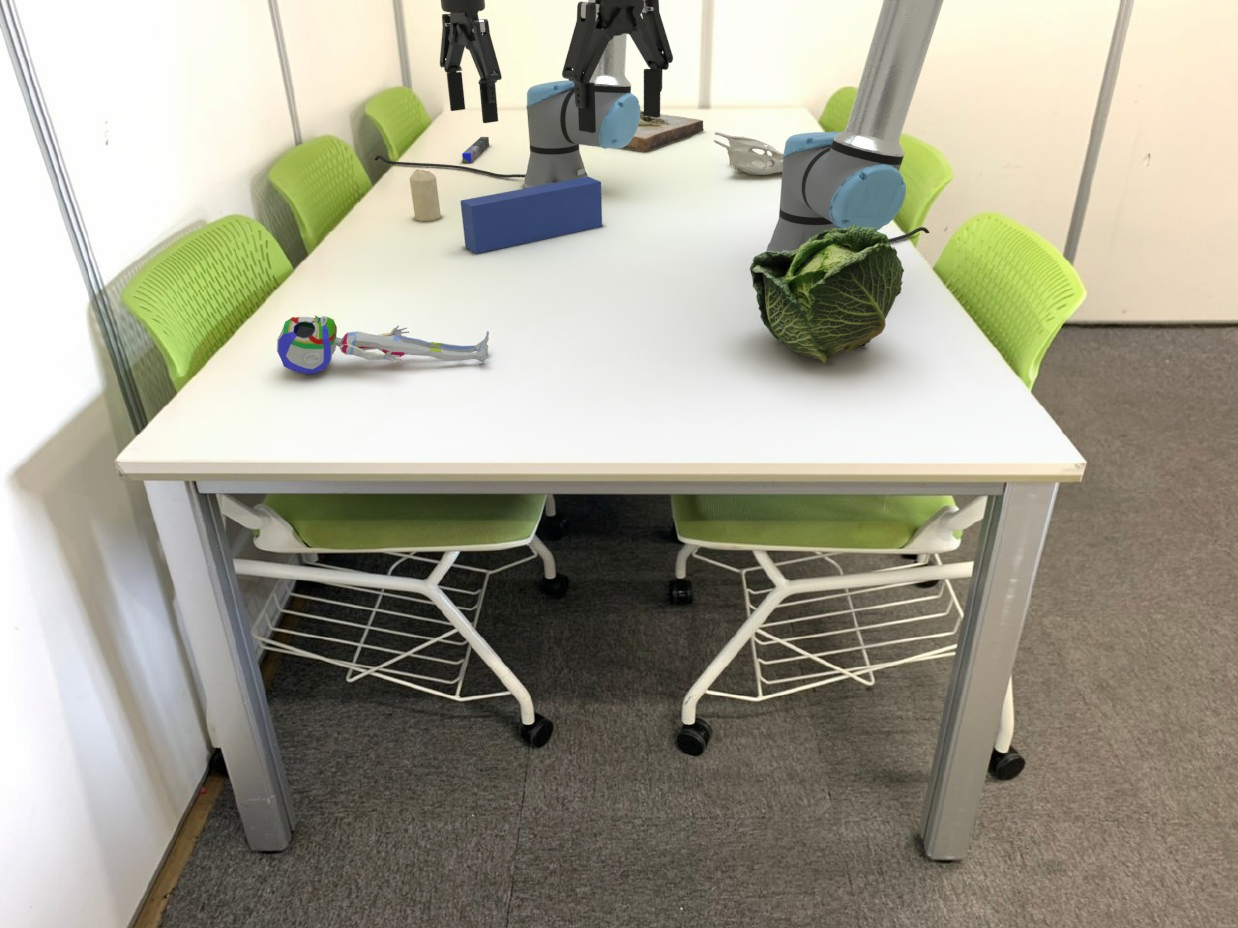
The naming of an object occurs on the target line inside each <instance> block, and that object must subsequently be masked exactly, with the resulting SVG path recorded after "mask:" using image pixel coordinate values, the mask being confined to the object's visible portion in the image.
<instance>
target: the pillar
mask: <svg viewBox="0 0 1238 928" xmlns="http://www.w3.org/2000/svg"><path fill="white" fill-rule="evenodd" d="M489 138H490V137H489V136H480V137H479V138H478V139H477V140H476V141H474V143H472V144H471V145H470V146H468V147H467V149H466V150H465V151H463V152H462V153H461V157H462V158H461V159H462V163H465V164H466V163H472V162H473V161H474V160H475V159H476V158H478V157H479V156H480V155H481V154H482V153H483V152H484V151H485V150H486V149H487V148H488V147H489V146H490V139H489Z"/></svg>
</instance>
